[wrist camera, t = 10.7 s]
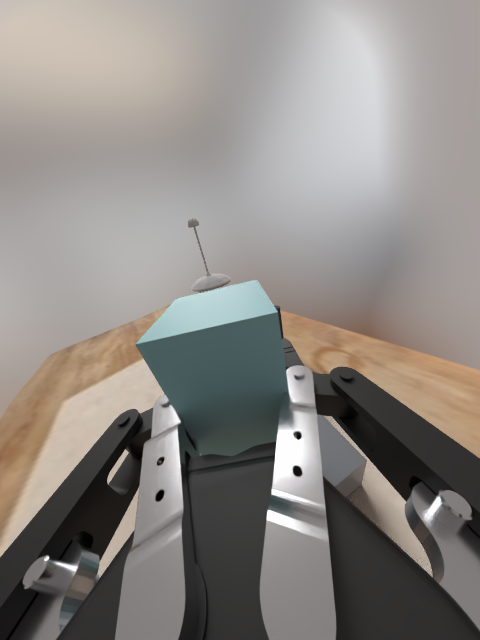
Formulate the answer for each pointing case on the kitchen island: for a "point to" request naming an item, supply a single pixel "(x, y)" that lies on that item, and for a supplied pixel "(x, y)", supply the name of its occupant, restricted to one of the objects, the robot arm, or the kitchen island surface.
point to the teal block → (221, 366)
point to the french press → (209, 280)
